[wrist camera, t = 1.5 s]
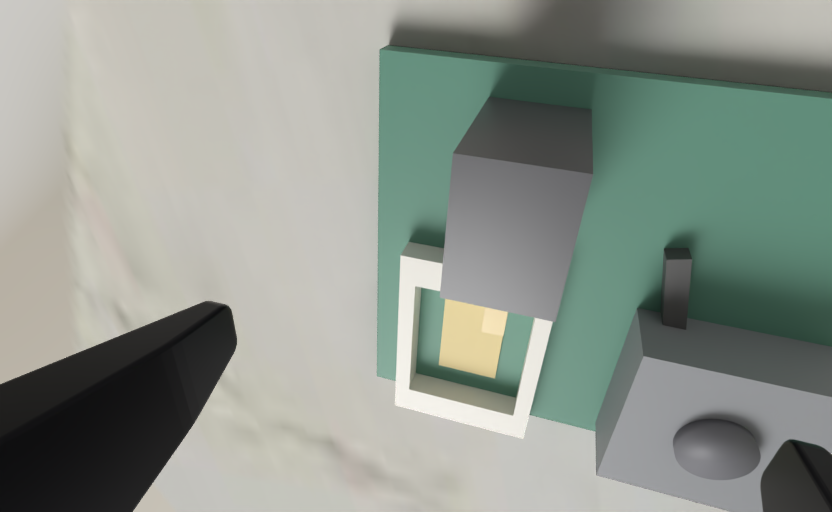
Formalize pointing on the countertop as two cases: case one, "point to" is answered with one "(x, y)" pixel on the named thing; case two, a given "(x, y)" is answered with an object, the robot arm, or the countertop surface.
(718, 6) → the countertop surface
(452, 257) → the plug
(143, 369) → the robot arm
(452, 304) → the board
